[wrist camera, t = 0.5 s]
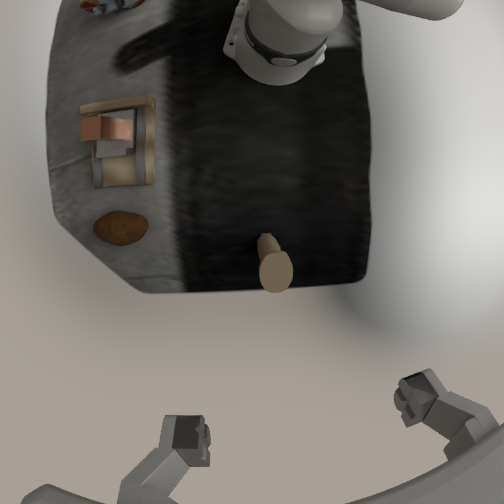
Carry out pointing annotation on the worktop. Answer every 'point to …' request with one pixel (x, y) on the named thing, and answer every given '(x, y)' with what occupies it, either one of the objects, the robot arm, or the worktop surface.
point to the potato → (120, 227)
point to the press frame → (142, 161)
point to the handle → (273, 265)
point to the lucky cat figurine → (108, 5)
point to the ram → (111, 132)
